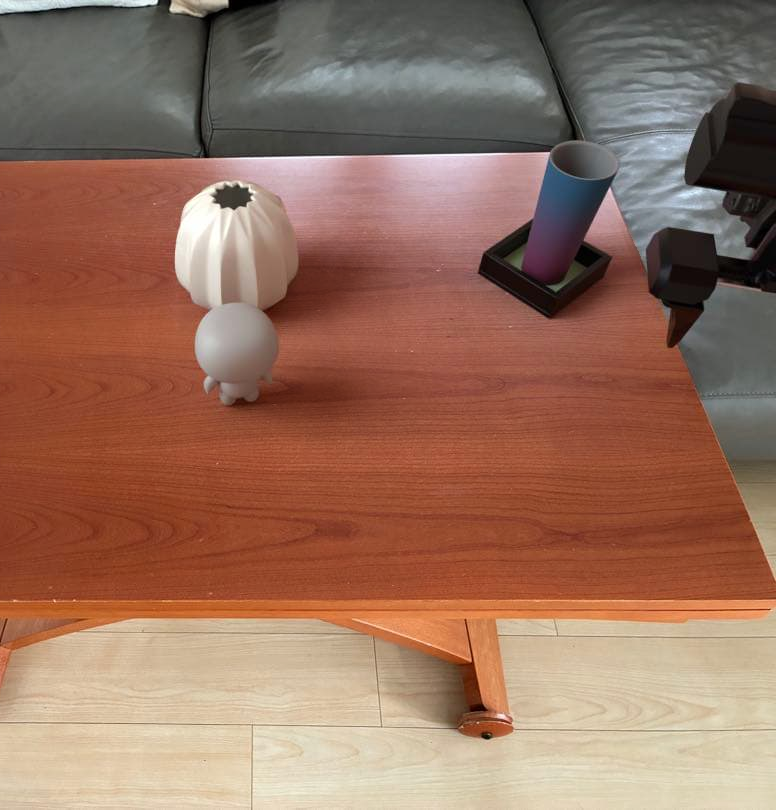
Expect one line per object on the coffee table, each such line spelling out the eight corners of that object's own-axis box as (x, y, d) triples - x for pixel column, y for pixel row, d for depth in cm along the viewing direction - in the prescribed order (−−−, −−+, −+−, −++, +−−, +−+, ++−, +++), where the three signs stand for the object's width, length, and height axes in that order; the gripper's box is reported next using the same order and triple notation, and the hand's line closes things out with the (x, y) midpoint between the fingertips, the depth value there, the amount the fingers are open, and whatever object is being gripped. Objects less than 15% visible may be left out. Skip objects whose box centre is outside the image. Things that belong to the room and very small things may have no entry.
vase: (310, 264, 93) (315, 169, 82) (271, 344, 85) (271, 251, 75) (206, 240, 96) (197, 146, 86) (159, 315, 89) (144, 222, 78)
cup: (551, 299, 87) (596, 188, 75) (501, 270, 90) (536, 159, 78) (585, 270, 89) (633, 159, 78) (535, 243, 93) (573, 132, 81)
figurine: (270, 367, 83) (269, 285, 74) (284, 422, 78) (286, 342, 69) (196, 379, 82) (186, 298, 73) (206, 435, 78) (197, 356, 68)
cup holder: (603, 277, 90) (612, 256, 87) (549, 319, 86) (557, 298, 83) (531, 235, 95) (538, 214, 92) (477, 273, 91) (483, 252, 88)
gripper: (960, 157, 56) (828, 308, 68) (687, 119, 59) (609, 271, 71) (1010, 258, 49) (854, 405, 62) (700, 210, 52) (612, 359, 65)
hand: (726, 354), depth 65 cm, fingers open, 9 cm apart
